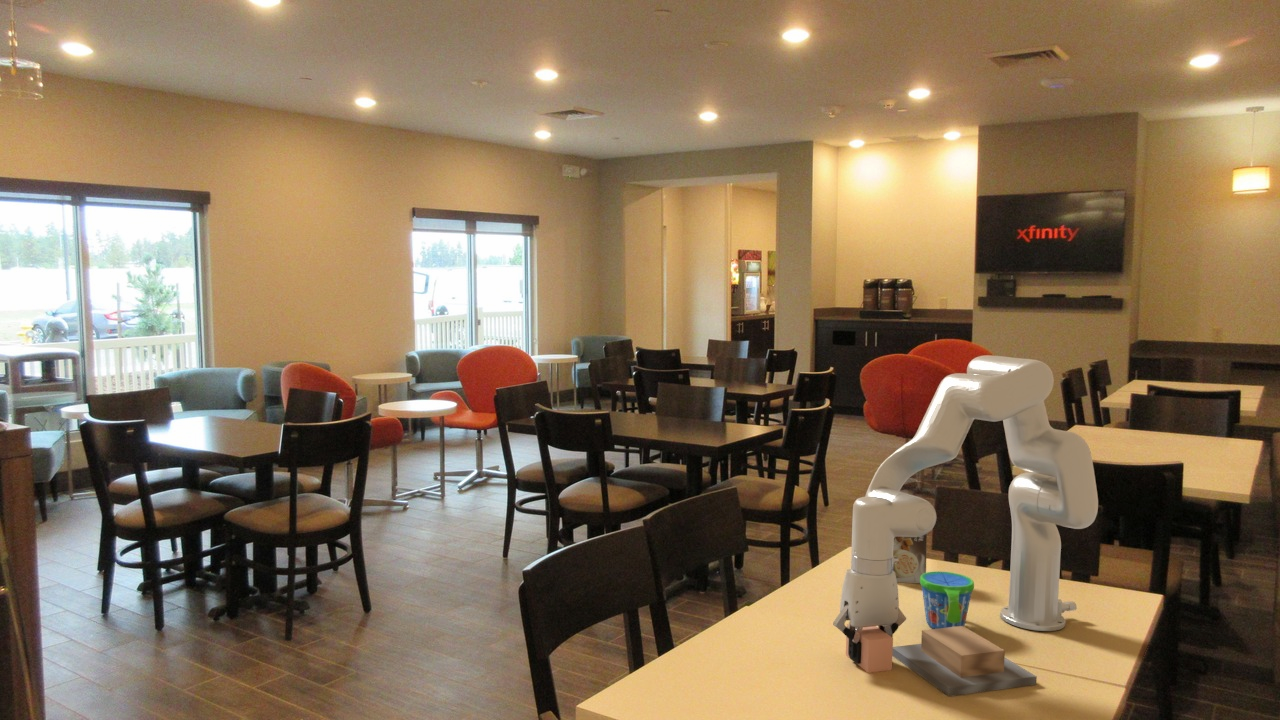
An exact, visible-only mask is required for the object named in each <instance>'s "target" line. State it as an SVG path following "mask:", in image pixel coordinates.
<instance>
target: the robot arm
mask: <svg viewBox="0 0 1280 720" xmlns="http://www.w3.org/2000/svg"><path fill="white" fill-rule="evenodd" d="M1054 383H1055V379H1054V374H1053V371H1052V369H1051V367H1050V366H1048V364H1046V363H1045V362H1044V361H1041V360H1038V359H1031V358H1022V357H1021V358H1019V357H1009V356H1004V355H1001V356H1000V355H991V354H990V355H988V354H987V355H980V356H977V357H974V358H973V359H971V361H969V362H968V365H967V367H966V373H964V372H963V373H959V372H957V373H951V374H948V375H946V376H944V378H943V379H941V381H940V383H939V385H938V386H937V389H936V391H935V393H934V395H933V397H932V399H931V402H930V403H929V404H928V408H927V409H926V412H925V413H924V416H923V418H922V420H921V422H920V424H919V426H918V429H917V431H916V432H915V434H914V436H913V438H912V439H910V440H909V441H907V442H906V443H904V444H903V445H902V446H900V447H899V448H898V449H896V450H895V451H894V452H893V453H892V454H891V455H889V456H887V458H886V459H885V460H883V462H882V463H881V464H880V465H879V466H878V468H877V470H876V471H875V473H874V475H873V477H872V480H871V482H870V484H869V485H868V488H867V490H866V493H865V496H861V497H858V498H856V500H855V501H854V502H853V504H852V505H853V506H852V522H851V525H852V526H851V551H850V552H851V555H850V556H851V557H850V558H851V559H850V560H851V561H850V564H851V565H850V568H848V569H846V572H845V575H844V579H843V584H842V589H841V595H840V596H841V597H840V606H839V607H840V608H839V614H838V615H837V616H836V618H835V619H834V620H833V622H832V624H833V626H834V627H835V628H836V629H838V630H840V631H841V632H842V634H844V636H845V637H847V638H848V639H849V647H848V654H849V657H850V658H849V657H848V658H849V660H853V663H855V664H856V665H857V664H860V663H861V643H860V642H859V639H860V635H861V632H862V629H863V627H871V626H876V627H878V628H879V629H881V630H882V631H884V632H885V633H887V634H888V635H889V636H891V637H892V638H893V639H894V634H895V633H896V632H897V630H898V629H899V627H900V626H901V625H902V624H903V623H905V622H906V619H907V617H906V615H905V614H904V613H903V611H902V610H901V609H900V607H899V606H900V605H899V601H900V600H899V599H900V598H899V589H898V582H897V579H896V574H895V572H894V571H893V564H896V563H898V557H897V556H893V545H894V538H895V537H919V536H923V535H925V534H927V535H928V533H929V532H931V531H932V530H933V528H934V527H935V525H936V522H937V512H936V509H935V507H934V506H933V505H932V503H931V502H929V500H926V499H925V498H923V497H920V496H916V495H913V494H909V493H907V492H903V491H901V489H902V488H903V485H904V484H905V483H906V481H908V479H909V478H911V477H912V476H913V475H915V474H917V472H920V471H922V470H925V469H927V468H931V467H934V466H936V465H940V464H944V463H948V462H950V461H952V460H954V459H955V458H957V456H958V454H959V451H961V447H962V445H963V444H964V441H965V439H966V437H967V434H968V433H969V431H970V428H971V426H972V424H973V422H974V420H979V421H980V420H981V421H987V422H1000V421H1002V422H1003V428H1004V433H1005V441H1006V445H1007V450H1008V455H1009V459H1010V461H1011V463H1012V464H1013V466H1015V467H1016V468H1017V469H1019V470H1023V471H1025V472H1023V473H1020V474H1018V475H1016V476H1015V477H1014V478H1013V479H1012V481H1010V485H1009V487H1008V504H1009V508H1010V510H1009V511H1010V516H1011V518H1010V519H1011V546H1010V547H1011V548H1010V549H1011V550H1010V566H1009V567H1010V570H1009V589H1008V591H1009V592H1008V605H1007V606H1004V607H1003V608H1001V609H1000V618H1001V619H1002V620H1003V621H1004V622H1005V623H1007V624H1010V625H1013V626H1014V627H1018V628H1021V629H1023V630H1024V629H1025V630H1030V631H1037V632H1038V631H1040V632H1055V631H1059V630H1061V629H1064V628H1065V626H1066V619H1065V617H1064V616H1063V613H1065V612H1071V611H1072V612H1073V611H1076V610H1077V604H1076V603H1075V602H1076V601H1073V600H1071V601H1070V600H1069V601H1064V602H1063V601H1062V599H1060V598H1059V591H1060V588H1059V587H1060V570H1061V552H1062V550H1061V549H1062V541H1061V536H1060V532H1059V530H1058V527H1057V526H1061V527H1064V528H1070V529H1074V530H1083V529H1086V528H1088V527H1089V526H1091V525H1092V524H1093V523H1094V522H1095V520H1096V518H1097V515H1098V509H1099V497H1098V495H1099V494H1098V490H1097V483H1096V475H1095V468H1094V463H1093V455H1092V452H1091V448H1090V446H1089V444H1088V443H1087V441H1086V440H1085V439H1084V438H1083V437H1082V436H1080V435H1079V434H1077V433H1075V432H1072V431H1068V430H1061V429H1056V428H1054V427H1052V426H1051V425H1050V422H1049V417H1048V416H1049V415H1048V413H1047V407H1046V405H1045V400H1046V399H1047V398H1048V397H1049V396H1050V394H1051V393H1052V390H1053V387H1054ZM847 621H849V622H848V624H849V626H848V628H847V625H846V624H845V623H846V622H847Z"/></svg>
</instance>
